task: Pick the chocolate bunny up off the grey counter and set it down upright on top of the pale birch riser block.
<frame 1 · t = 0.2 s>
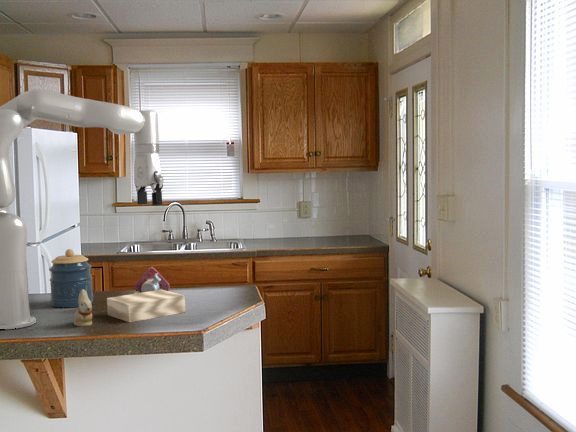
hand: (149, 204, 230), 31 cm above the countertop, tool pointing down, fingers open, 9 cm apart
birch riser: (146, 313, 214), on the countertop
canister: (72, 304, 232), on the countertop
chocolate bunny: (83, 324, 203), on the countertop
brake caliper: (152, 302, 232), on the countertop
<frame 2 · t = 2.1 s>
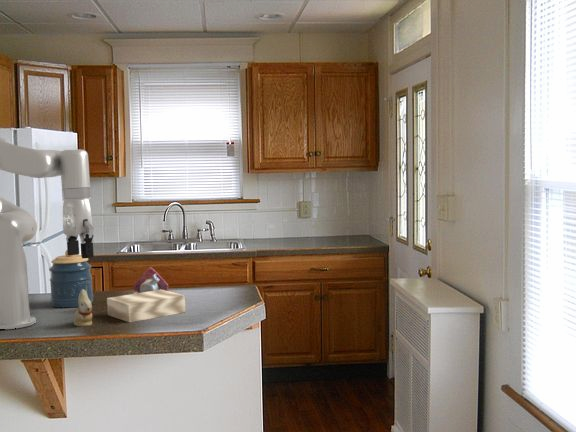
hand: (80, 256, 202), 19 cm above the countertop, tool pointing down, fingers open, 9 cm apart
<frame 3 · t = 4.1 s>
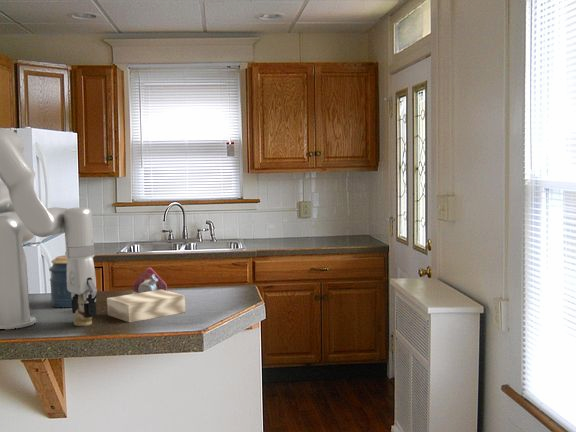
hand: (84, 314, 203), 3 cm above the countertop, tool pointing down, fingers closed on chocolate bunny, 7 cm apart
chocolate bunny: (83, 324, 203), on the countertop, touching gripper
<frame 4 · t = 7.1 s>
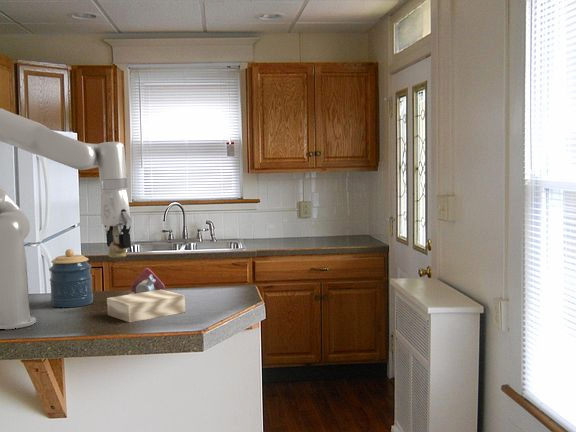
hand: (119, 246, 208), 21 cm above the countertop, tool pointing down, fingers closed on chocolate bunny, 7 cm apart
chocolate bunny: (118, 256, 208), point 18 cm above the countertop, touching gripper
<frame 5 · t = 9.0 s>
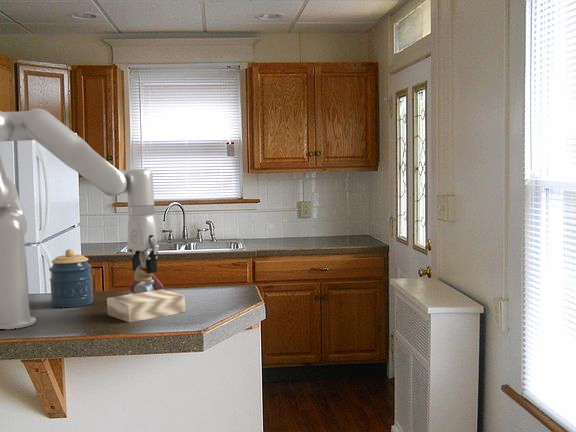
hand: (144, 271, 213), 13 cm above the countertop, tool pointing down, fingers closed on chocolate bunny, 7 cm apart
chocolate bunny: (143, 280, 214), point 10 cm above the countertop, touching gripper
when the fingers open (9 cm above the countertop, at t = 10.3 s): chocolate bunny drops 1 cm, resting on birch riser.
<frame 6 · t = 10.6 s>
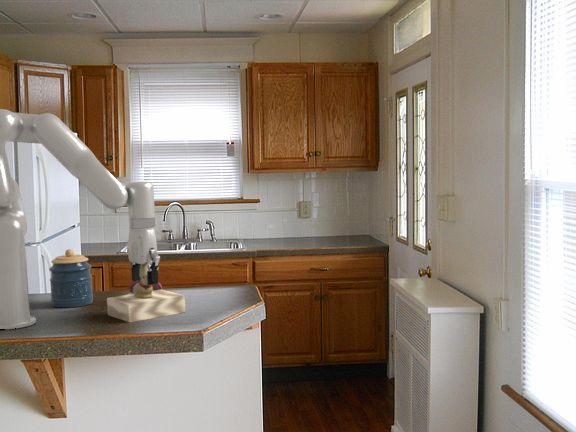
hand: (145, 282, 213), 9 cm above the countertop, tool pointing down, fingers open, 9 cm apart
chocolate bunny: (143, 297, 214), point 5 cm above the countertop, touching birch riser
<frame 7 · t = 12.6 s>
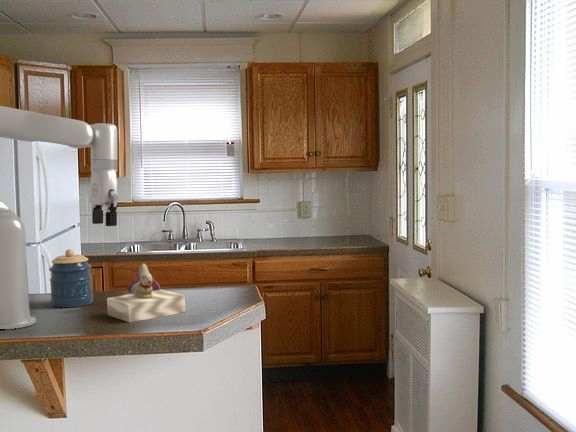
hand: (104, 224, 213), 26 cm above the countertop, tool pointing down, fingers open, 9 cm apart
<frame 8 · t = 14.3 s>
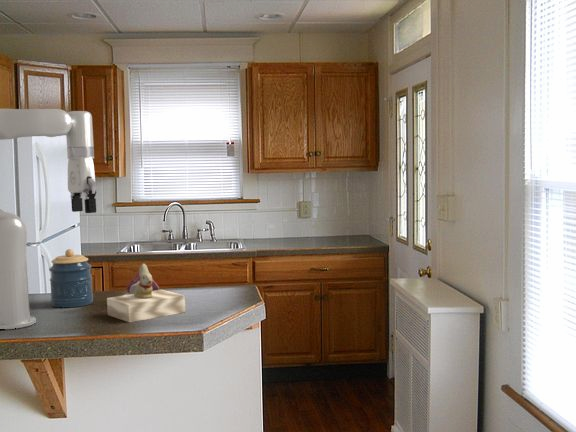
hand: (84, 212, 214), 30 cm above the countertop, tool pointing down, fingers open, 9 cm apart
at the end: chocolate bunny inside the target area on the birch riser (0.6 cm from its centre), point 4.8 cm above the birch riser's base; chocolate bunny tilted 0°; the gripper is holding nothing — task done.
